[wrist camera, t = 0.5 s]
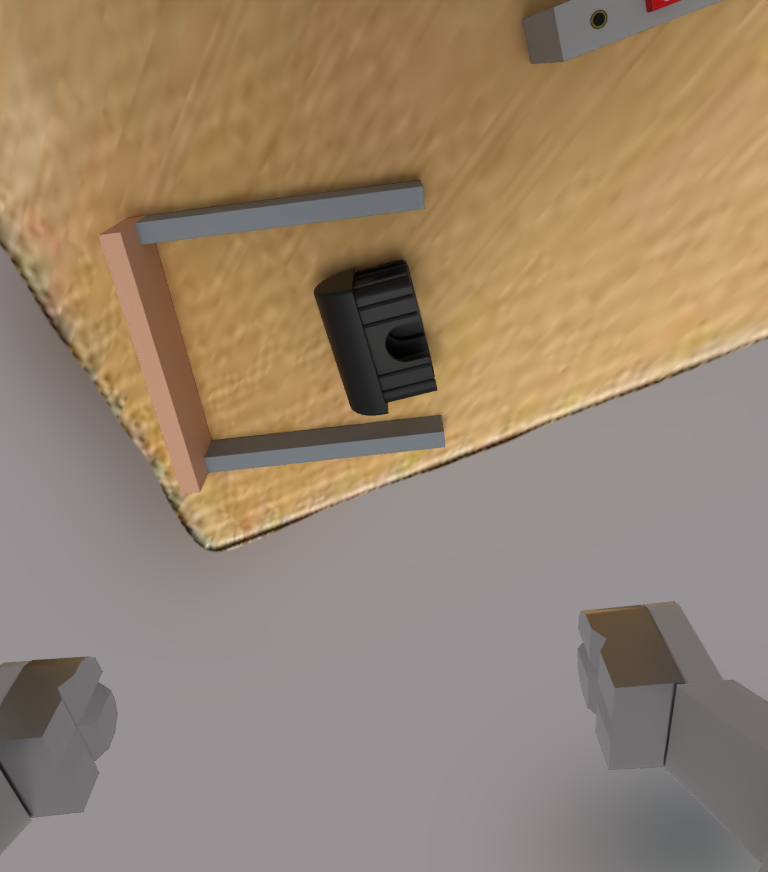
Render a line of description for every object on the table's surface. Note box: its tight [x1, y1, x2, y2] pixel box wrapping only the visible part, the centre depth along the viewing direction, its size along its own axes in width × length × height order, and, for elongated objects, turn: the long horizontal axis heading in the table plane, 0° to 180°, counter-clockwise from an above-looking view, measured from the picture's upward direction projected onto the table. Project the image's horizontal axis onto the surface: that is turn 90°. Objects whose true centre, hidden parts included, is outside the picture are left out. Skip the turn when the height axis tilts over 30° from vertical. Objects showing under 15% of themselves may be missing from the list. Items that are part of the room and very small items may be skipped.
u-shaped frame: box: [98, 180, 445, 494], centre depth 51 cm, size 21×22×6 cm
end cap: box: [314, 260, 437, 416], centre depth 51 cm, size 10×7×7 cm
